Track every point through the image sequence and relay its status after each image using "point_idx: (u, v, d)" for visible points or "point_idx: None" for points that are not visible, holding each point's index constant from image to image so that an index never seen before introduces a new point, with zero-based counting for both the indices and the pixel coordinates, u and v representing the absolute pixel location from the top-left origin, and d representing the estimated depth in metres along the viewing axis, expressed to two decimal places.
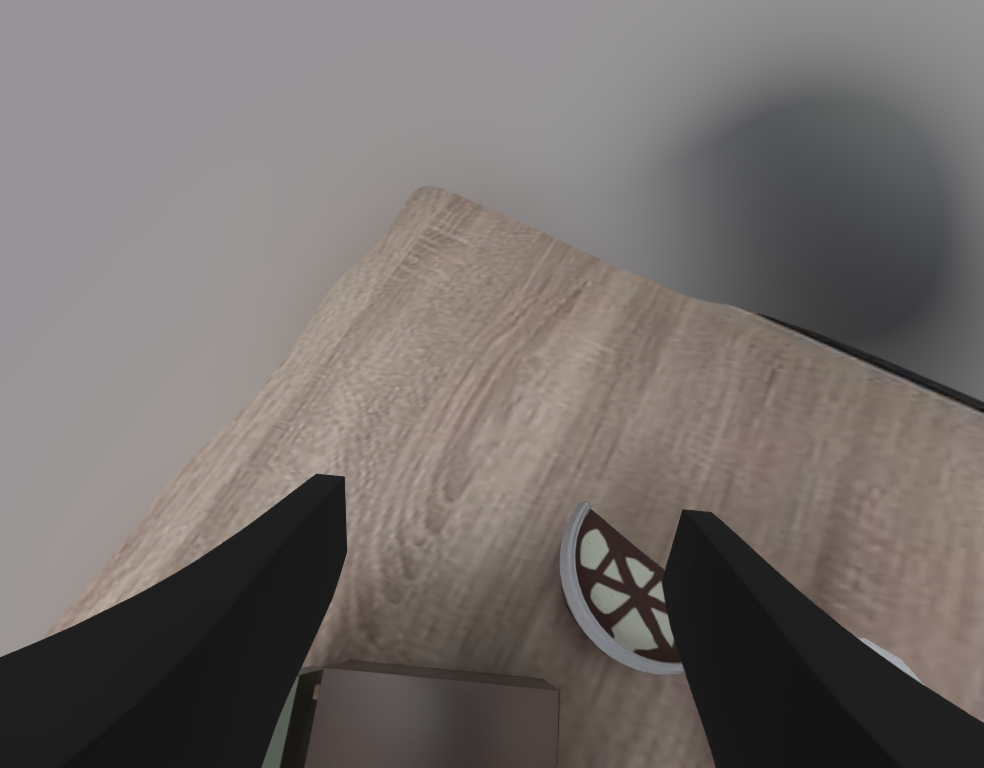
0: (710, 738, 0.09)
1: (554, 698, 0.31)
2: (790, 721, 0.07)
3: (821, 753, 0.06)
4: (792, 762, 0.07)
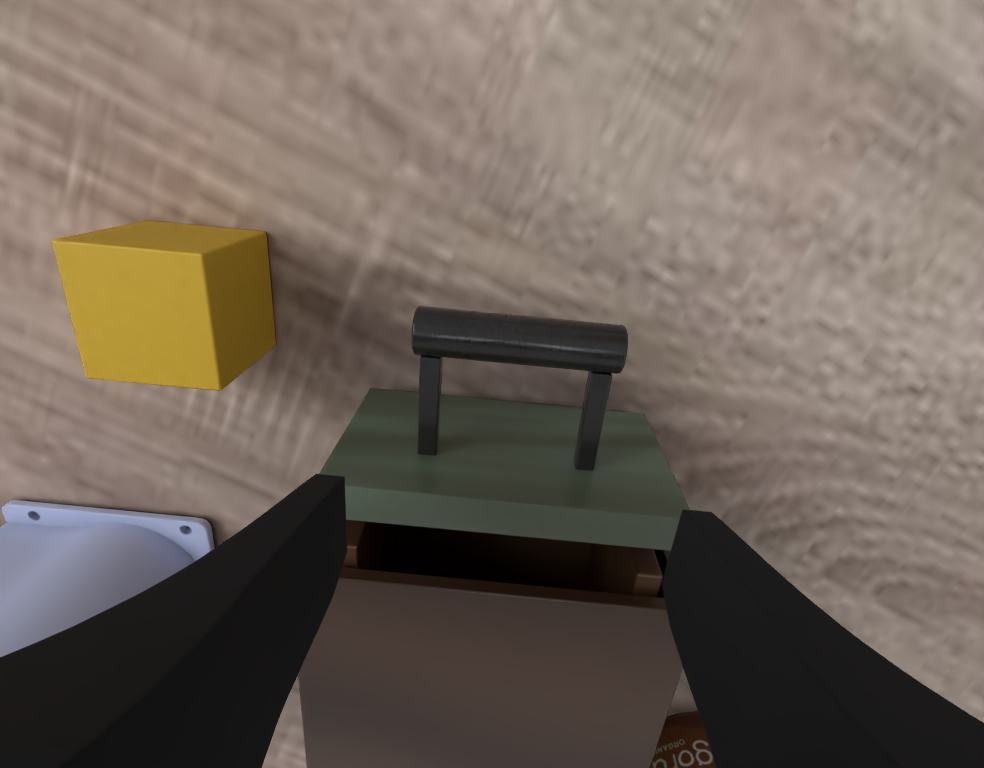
0: (709, 738, 0.09)
1: None
2: (790, 721, 0.07)
3: (821, 753, 0.06)
4: (792, 762, 0.07)
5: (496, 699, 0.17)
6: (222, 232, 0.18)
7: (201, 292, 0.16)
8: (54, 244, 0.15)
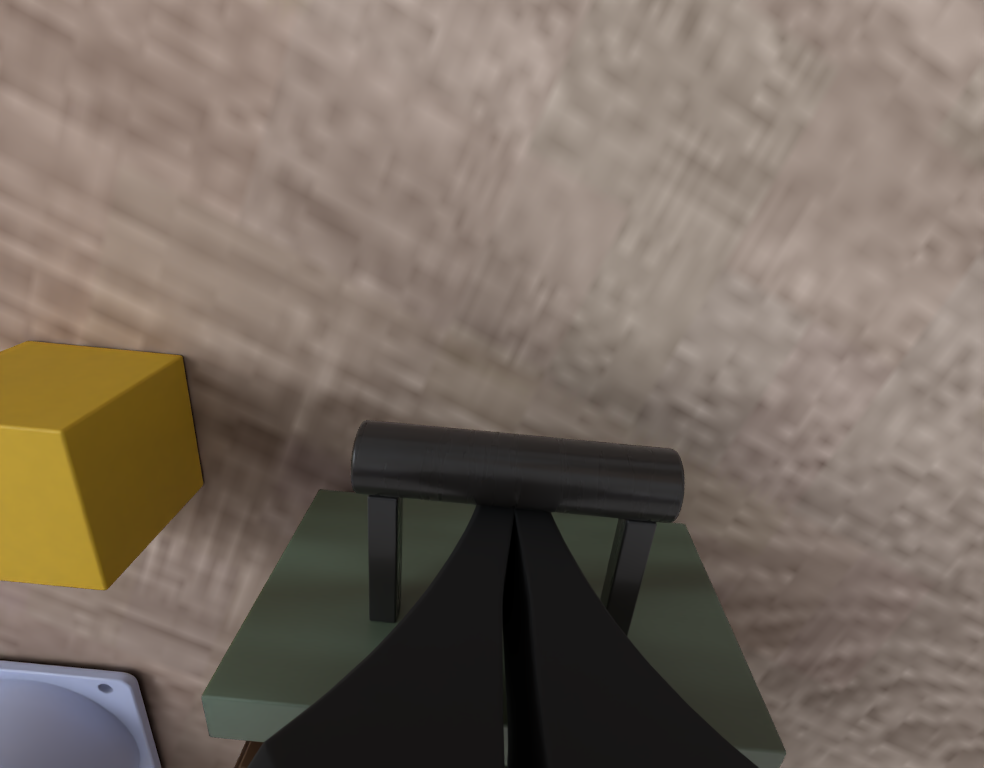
0: (507, 718, 0.09)
1: None
2: (525, 695, 0.07)
3: (529, 724, 0.06)
4: (522, 735, 0.07)
5: None
6: (119, 363, 0.14)
7: (65, 478, 0.11)
8: None
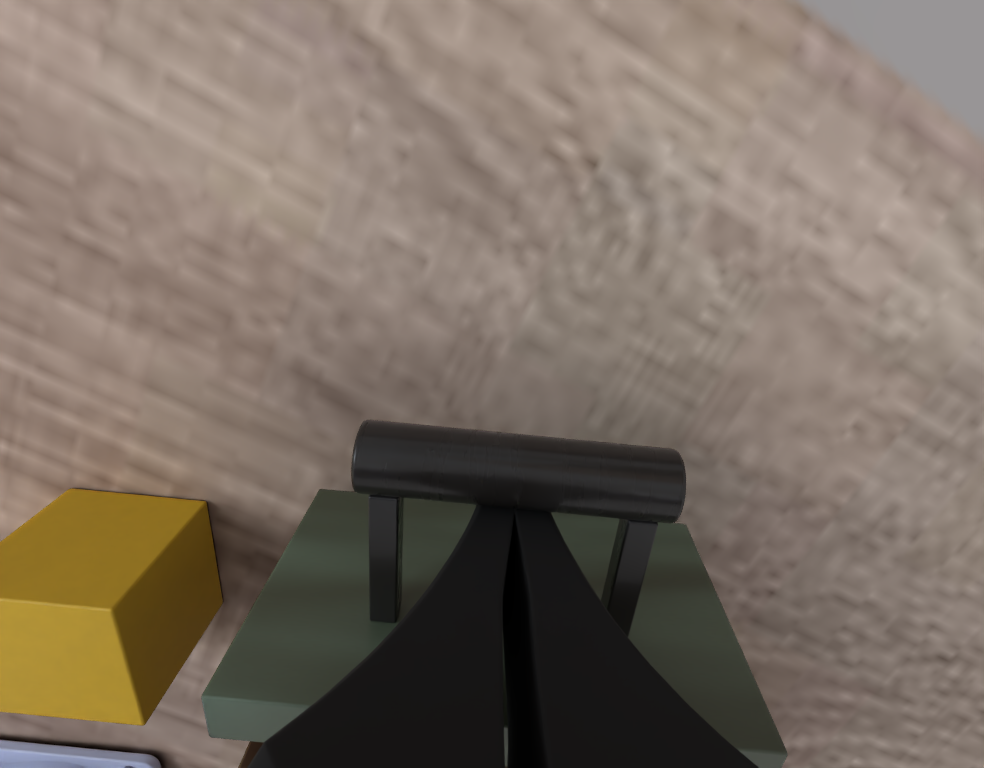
0: (508, 718, 0.09)
1: None
2: (526, 695, 0.07)
3: (529, 724, 0.06)
4: (522, 735, 0.07)
5: None
6: (152, 516, 0.16)
7: (113, 643, 0.13)
8: None
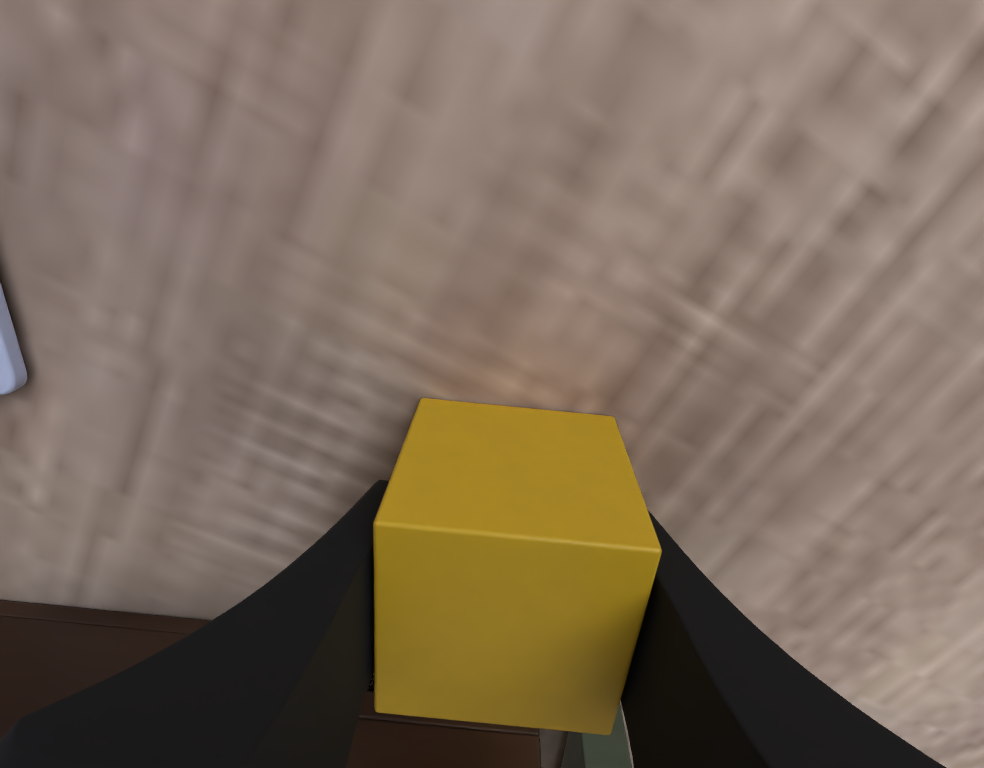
0: (629, 731, 0.09)
1: None
2: (685, 710, 0.07)
3: (705, 741, 0.06)
4: (684, 751, 0.07)
5: None
6: None
7: (549, 725, 0.10)
8: (654, 555, 0.08)
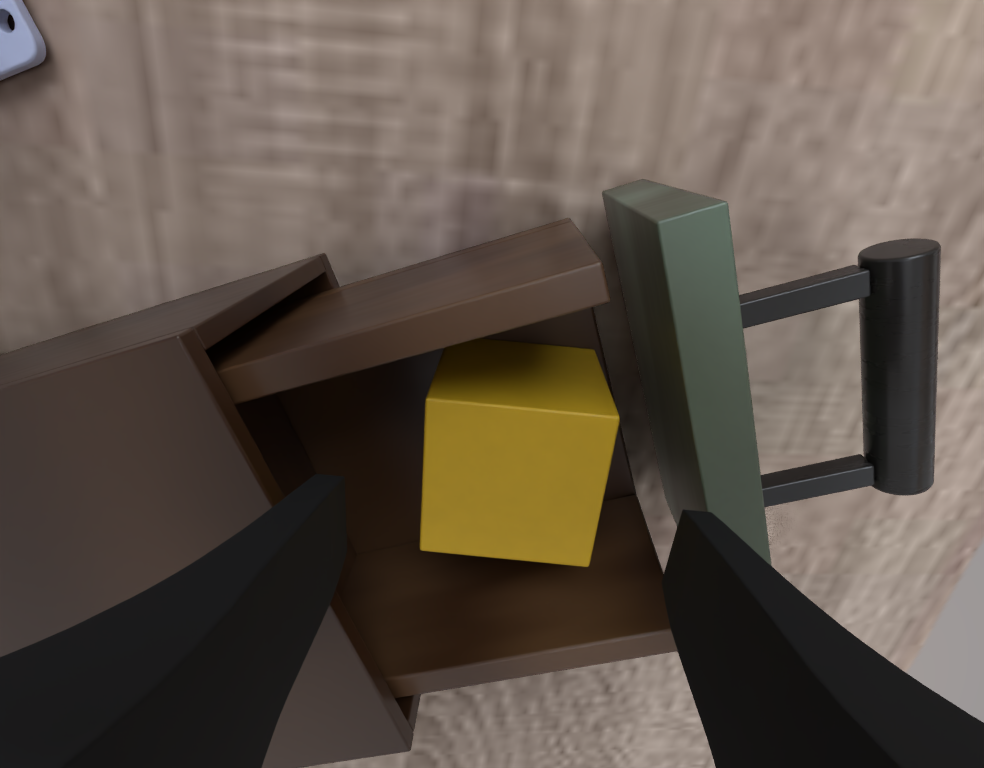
0: (709, 738, 0.09)
1: None
2: (790, 721, 0.07)
3: (821, 753, 0.06)
4: (792, 762, 0.07)
5: None
6: None
7: (545, 558, 0.14)
8: (614, 420, 0.12)
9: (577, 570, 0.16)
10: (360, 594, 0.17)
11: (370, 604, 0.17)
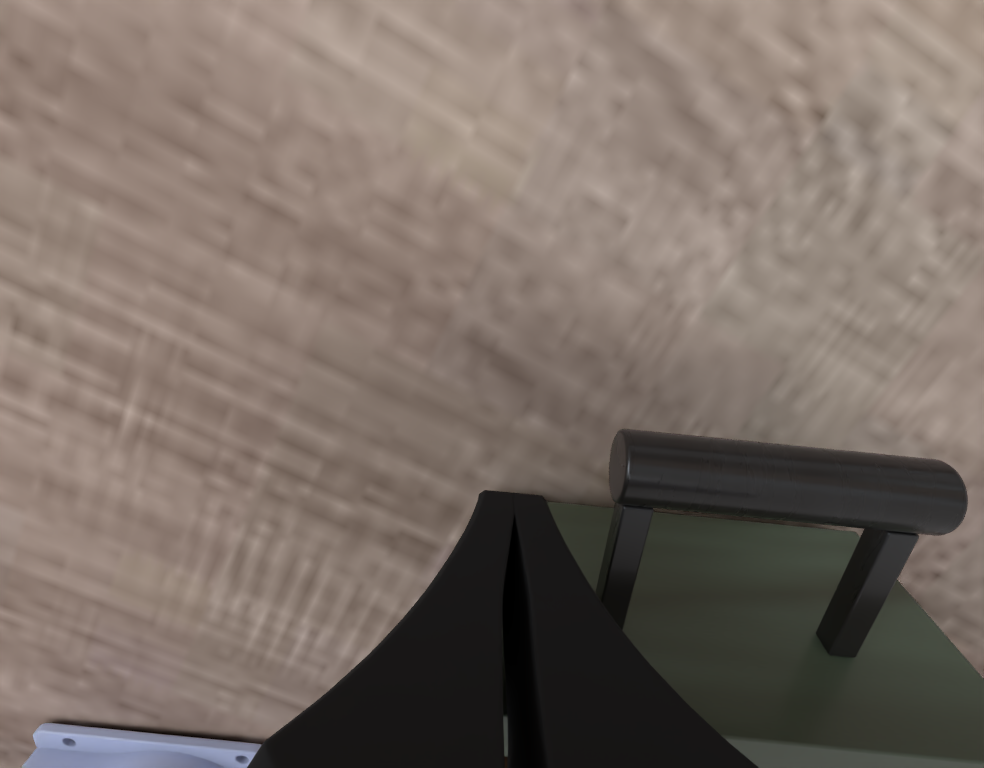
0: (508, 718, 0.09)
1: None
2: (525, 695, 0.07)
3: (529, 724, 0.06)
4: (522, 735, 0.07)
5: None
6: None
7: None
8: None
9: None
10: None
11: None
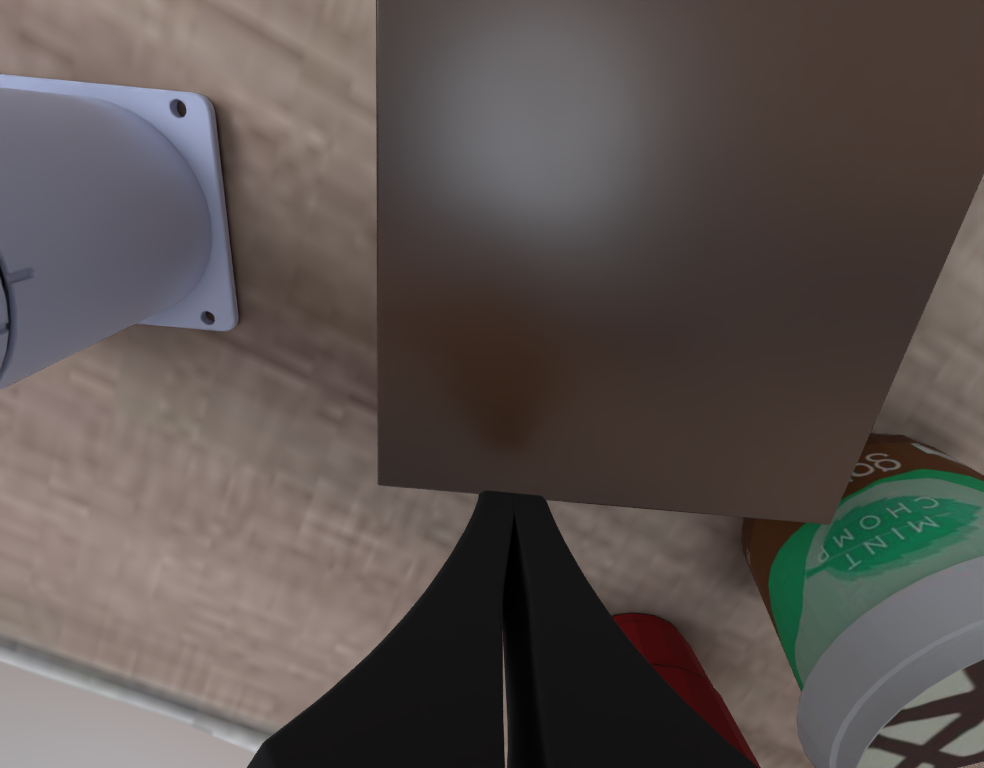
0: (508, 718, 0.09)
1: (818, 515, 0.14)
2: (526, 695, 0.07)
3: (529, 724, 0.06)
4: (522, 735, 0.07)
5: (715, 102, 0.10)
6: None
7: None
8: None
9: None
10: None
11: None
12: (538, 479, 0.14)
